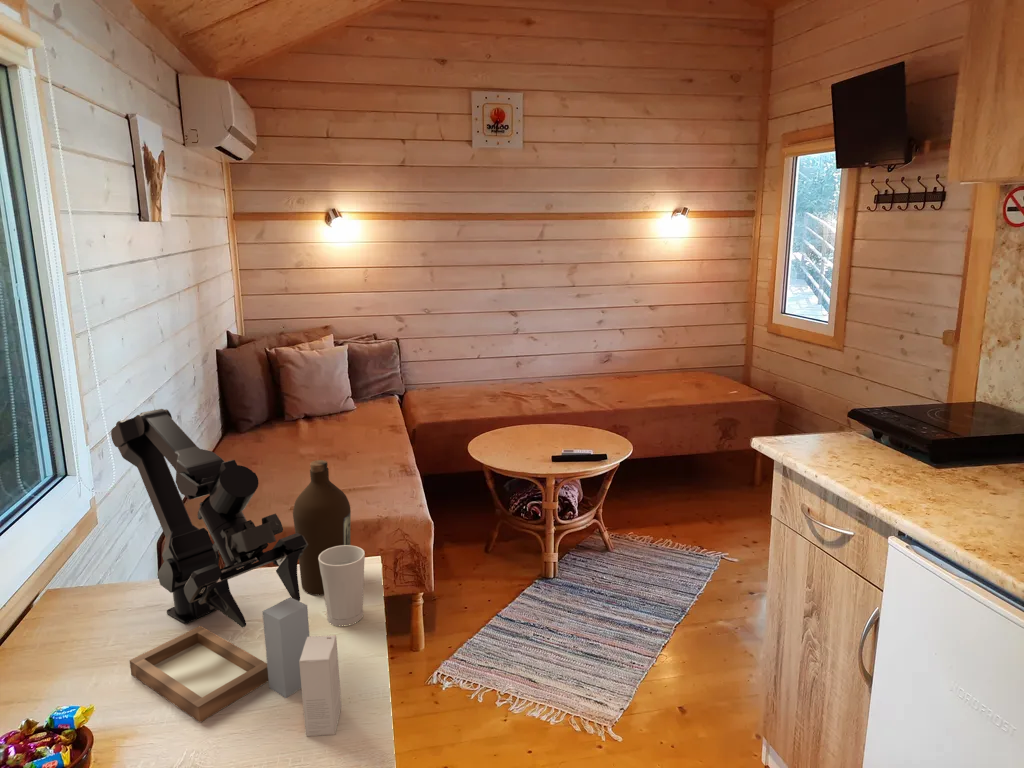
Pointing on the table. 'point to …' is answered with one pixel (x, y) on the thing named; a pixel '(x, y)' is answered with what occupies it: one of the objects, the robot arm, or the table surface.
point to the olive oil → (320, 523)
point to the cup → (343, 583)
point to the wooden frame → (200, 672)
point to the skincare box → (320, 685)
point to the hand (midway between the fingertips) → (272, 613)
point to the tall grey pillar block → (285, 644)
